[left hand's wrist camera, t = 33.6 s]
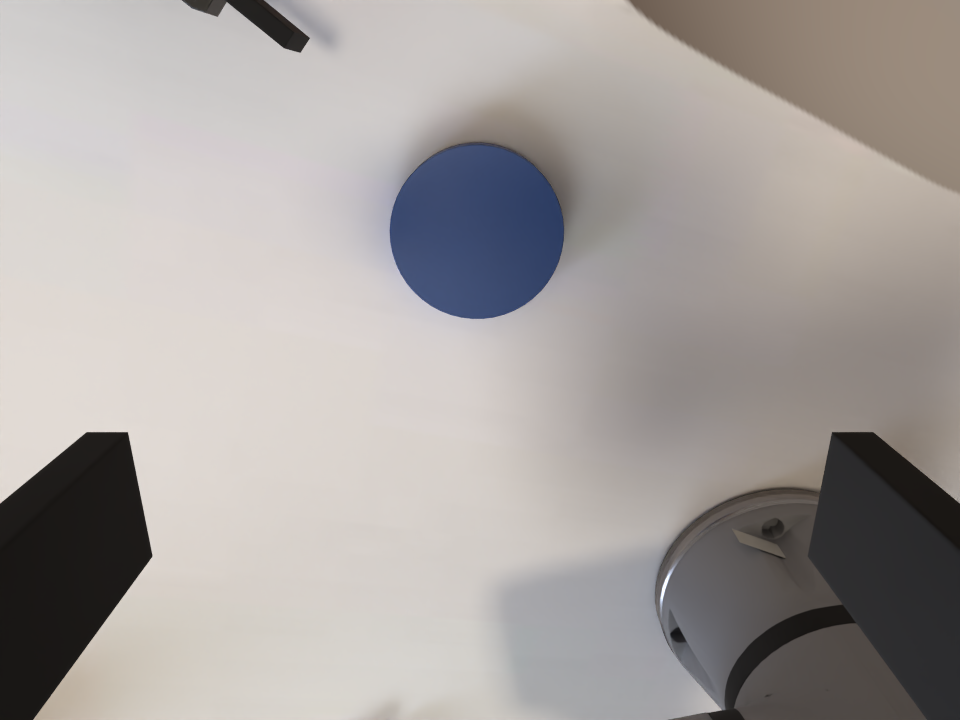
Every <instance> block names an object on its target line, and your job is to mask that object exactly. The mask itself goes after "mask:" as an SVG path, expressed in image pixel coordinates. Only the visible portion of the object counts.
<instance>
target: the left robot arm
mask: <svg viewBox="0 0 960 720" xmlns="http://www.w3.org/2000/svg"><path fill="white" fill-rule="evenodd" d="M151 558H152V551H151V546H150V541H149V536H148V531H147V526H146V521H145V516H144V511H143V506H142V501H141V496H140V491H139V486H138V481H137V476H136V471H135V466H134V461H133V456H132V451H131V446H130V441H129V436H128V432H87V433H85V434H84V435H83V436H82V437H80V438H79V439H78V440H77V441H76V442H74V443H73V444H72V445H71V446H70V447H68V448H67V449H66V450H65V451H63V452H62V453H61V454H60V455H59V456H57V457H56V458H55V459H54V460H53V461H51V462H50V463H49V464H48V465H47V466H45V467H44V468H43V469H42V470H40V471H39V472H38V473H37V474H36V475H34V476H33V477H32V478H31V479H30V480H28V481H27V482H26V483H25V484H23V485H22V486H21V487H20V488H19V489H17V490H16V491H15V492H14V493H13V494H11V495H10V496H9V497H8V498H6V499H5V500H4V501H3V502H2V503H0V720H33V719H34V718H35V716H36V715H37V714H38V712H39V711H40V710H41V708H42V707H43V705H44V704H45V703H46V701H47V700H48V699H49V697H50V696H51V695H52V693H53V692H54V690H55V689H56V688H57V686H58V685H59V684H60V682H61V681H62V679H63V678H64V677H65V675H66V674H67V673H68V671H69V670H70V669H71V667H72V666H73V664H74V663H75V662H76V660H77V659H78V658H79V656H80V655H81V653H82V652H83V651H84V649H85V648H86V647H87V645H88V644H89V643H90V641H91V640H92V638H93V637H94V636H95V634H96V633H97V632H98V630H99V629H100V627H101V626H102V625H103V623H104V622H105V621H106V619H107V618H108V617H109V615H110V614H111V612H112V611H113V610H114V608H115V607H116V606H117V604H118V603H119V601H120V600H121V599H122V597H123V596H124V595H125V593H126V592H127V591H128V589H129V588H130V586H131V585H132V584H133V582H134V581H135V580H136V578H137V577H138V575H139V574H140V573H141V571H142V570H143V569H144V567H145V566H146V565H147V563H148V562H149V560H150V559H151ZM655 604H656V610H657V614H658V618H659V621H660V624H661V627H662V630H663V633H664V635H665V638H666V640H667V643H668V645H669V646H670V648H671V650H672V652H673V653H674V654H675V656H676V657H677V659H678V660H679V662H680V663H681V664H682V665H683V666H684V668H685V669H686V670H687V671H688V672H689V673H690V674H691V676H692V677H693V678H694V679H695V680H696V681H697V682H698V683H699V685H700V686H701V687H702V688H703V689H704V690H705V691H706V692H707V694H708V695H709V696H710V697H711V698H712V699H713V700H714V701H715V703H716V704H717V705H718V706H719V707H720V708H721V709H722V711H716V712H711V713H702V714H696V715H691V716H686V717H681V718H675V719H670V720H960V503H958V502H957V501H956V500H955V499H954V498H952V497H951V496H950V495H949V494H947V493H946V492H945V491H944V490H943V489H941V488H940V487H939V486H938V485H937V484H935V483H934V482H933V481H932V480H930V479H929V478H928V477H927V476H926V475H924V474H923V473H922V472H921V471H920V470H918V469H917V468H916V467H915V466H913V465H912V464H911V463H910V462H909V461H907V460H906V459H905V458H904V457H903V456H901V455H900V454H899V453H898V452H897V451H895V450H894V449H893V448H892V447H890V446H889V445H888V444H887V443H886V442H884V441H883V440H882V439H881V438H880V437H878V436H877V435H876V434H875V433H873V432H832V436H831V441H830V446H829V451H828V456H827V461H826V466H825V471H824V476H823V481H822V486H821V491H820V493H816V492H811V491H805V490H795V489H778V490H768V491H762V492H756V493H752V494H749V495H745V496H742V497H739V498H736V499H733V500H731V501H729V502H726V503H724V504H722V505H720V506H718V507H716V508H714V509H713V510H711V511H709V512H708V513H706V514H705V515H703V516H702V517H700V518H699V519H698V520H697V521H695V522H694V523H693V524H692V525H690V526H689V527H688V528H687V529H686V530H685V531H684V532H683V533H682V534H681V535H680V537H679V538H678V539H677V540H676V541H675V543H674V544H673V545H672V547H671V548H670V550H669V552H668V553H667V555H666V557H665V559H664V561H663V563H662V565H661V568H660V571H659V574H658V577H657V582H656V589H655Z"/></svg>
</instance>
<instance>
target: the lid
mask: <svg viewBox="0 0 960 720" xmlns="http://www.w3.org/2000/svg"><path fill="white" fill-rule="evenodd" d="M563 241H564V224H563V216H562V212H561V208H560V205H559V202H558V199H557V197H556V194H555V193H554V191H553V189H552V187H551V185H550V184H549V182H548V181H547V180H546V178H545V177H544V176H543V174H542V173H541V172H540V171H539V170H538V169H537V168H536V167H535V166H534V165H533V164H532V163H531V162H529V161H528V160H527V159H526V158H524V157H523V156H521V155H519V154H518V153H516V152H514V151H512V150H510V149H507V148H505V147H502V146H498V145H494V144H488V143H466V144H459V145H456V146H452V147H449V148H447V149H444V150H442V151H440V152H438V153H436V154H434V155H433V156H431V157H430V158H428V159H427V160H426V161H424V162H423V163H422V164H421V165H420V166H419V167H418V168H417V169H416V170H415V171H414V172H413V173H412V174H411V175H410V177H409V178H408V179H407V181H406V182H405V183H404V185H403V186H402V188H401V190H400V192H399V194H398V196H397V198H396V201H395V204H394V207H393V211H392V215H391V222H390V242H391V248H392V253H393V256H394V259H395V262H396V265H397V267H398V269H399V271H400V273H401V275H402V277H403V278H404V280H405V281H406V283H407V284H408V285H409V287H410V288H411V289H412V290H413V291H414V292H415V293H416V294H417V295H418V296H419V297H420V298H421V299H422V300H424V301H425V302H427V303H428V304H429V305H431V306H432V307H434V308H436V309H438V310H440V311H442V312H445V313H447V314H450V315H454V316H458V317H462V318H470V319H484V318H492V317H497V316H500V315H504V314H507V313H509V312H512V311H514V310H516V309H518V308H520V307H521V306H523V305H525V304H526V303H528V302H529V301H530V300H532V299H533V298H534V297H535V296H536V295H537V294H538V293H539V292H540V291H541V290H542V289H543V288H544V286H545V285H546V284H547V283H548V281H549V280H550V278H551V276H552V275H553V273H554V271H555V269H556V267H557V265H558V262H559V259H560V256H561V252H562V247H563Z"/></svg>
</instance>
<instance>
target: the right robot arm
mask: <svg viewBox="0 0 960 720" xmlns="http://www.w3.org/2000/svg"><path fill="white" fill-rule="evenodd" d="M182 1H183V2H185V3H186V4H187V5H188V6H190V7H191V8H192V9H195V10H199V11H202V12H205V13H208V14H211V15H214V16H217V17H218V15H219V14H220V12H221V10H222V9H223V7H224V5H225V4H226V2H228V3H229V4H230V5H231V6H233V7H234V8H235V9H236V10H238V11H239V12H240V13H241V14H243V15H244V16H245V17H246V18H247V19H249V20H250V21H251V22H252V23H254V24H255V25H256V26H257V27H259V28H260V29H261V30H262V31H264V32H265V33H266V34H267V35H268V36H270V37H271V38H272V39H273V40H275V41H276V42H277V43H278V44H280V45H281V46H282V47H283V48H285V49H289V50H292V51H296V52H300V53H301V51H302V49H303V48H304V46H305V45H306V43H307V42H308V40H309V39H310V38H309V37H308V36H307V35H305V34H304V33H303V32H302V31H301V30H299V29H298V28H297V27H296V26H294V25H293V24H292V23H291V22H290V21H288V20H287V19H286V18H285V17H284V16H282V15H281V14H280V13H279V12H277V11H276V10H275V9H274V8H273V7H271V6H270V5H269V4H268V3H266V2H265V1H264V0H182Z"/></svg>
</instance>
